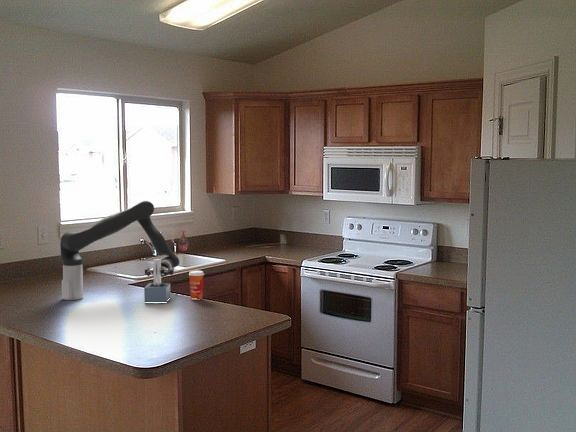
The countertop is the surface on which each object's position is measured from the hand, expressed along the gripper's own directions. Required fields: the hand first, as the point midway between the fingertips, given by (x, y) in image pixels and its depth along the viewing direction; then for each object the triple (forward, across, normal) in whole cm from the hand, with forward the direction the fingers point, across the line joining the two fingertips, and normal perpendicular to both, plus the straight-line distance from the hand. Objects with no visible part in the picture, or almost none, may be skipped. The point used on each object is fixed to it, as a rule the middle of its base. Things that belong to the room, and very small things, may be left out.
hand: (156, 274), depth 307 cm
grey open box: (-2, 0, +14) cm, 14 cm away
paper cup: (-7, +18, +14) cm, 24 cm away
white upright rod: (-2, 0, +13) cm, 13 cm away
